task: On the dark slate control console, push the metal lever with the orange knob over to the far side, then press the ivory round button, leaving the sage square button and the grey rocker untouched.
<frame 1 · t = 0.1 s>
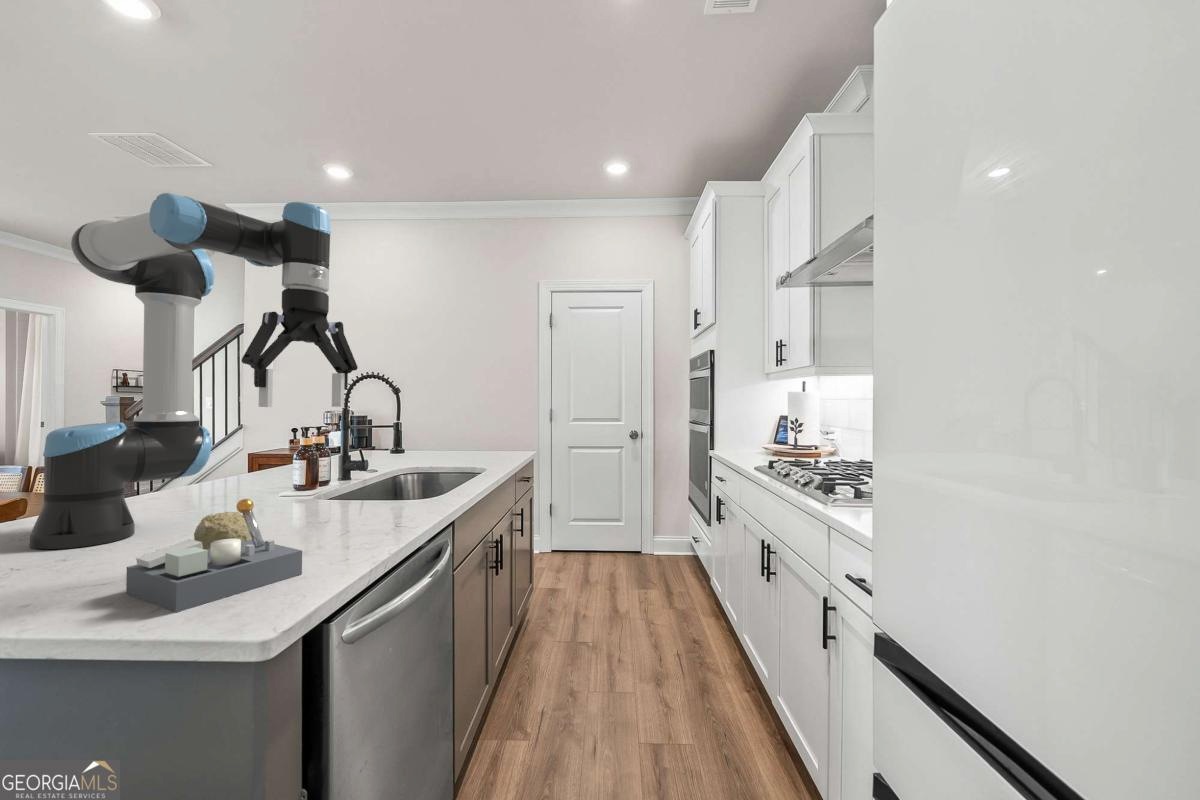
hand: (303, 407, 96), 28 cm above the countertop, fingers open, 13 cm apart
lever: (248, 515, 88), point 10 cm above the countertop, hinge at -35.0°
button square: (186, 561, 76), point 6 cm above the countertop, slide at 0.0 cm
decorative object: (223, 555, 98), on the countertop
panel: (219, 583, 83), on the countertop
rocker: (170, 552, 80), point 6 cm above the countertop, hinge at 10.0°
button round: (225, 551, 80), point 6 cm above the countertop, slide at 0.0 cm
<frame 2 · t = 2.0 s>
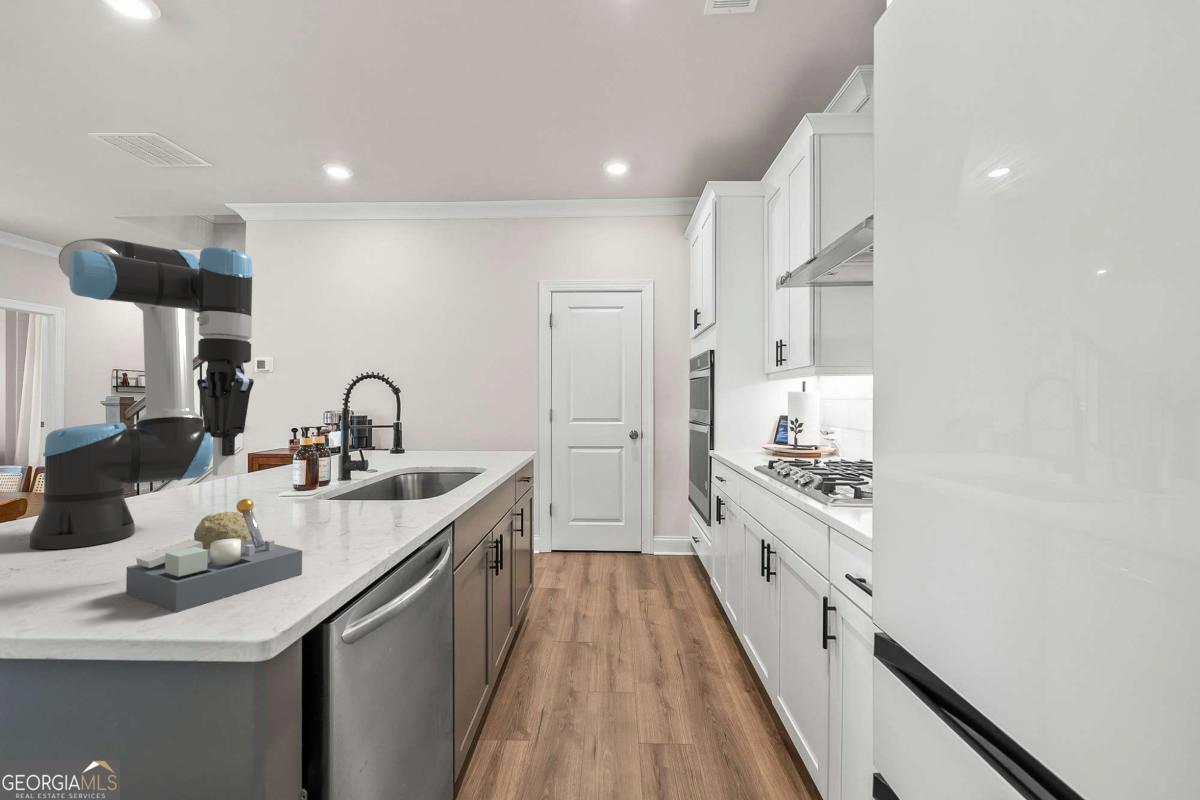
hand: (223, 474, 91), 16 cm above the countertop, fingers closed
nothing on the countertop moved.
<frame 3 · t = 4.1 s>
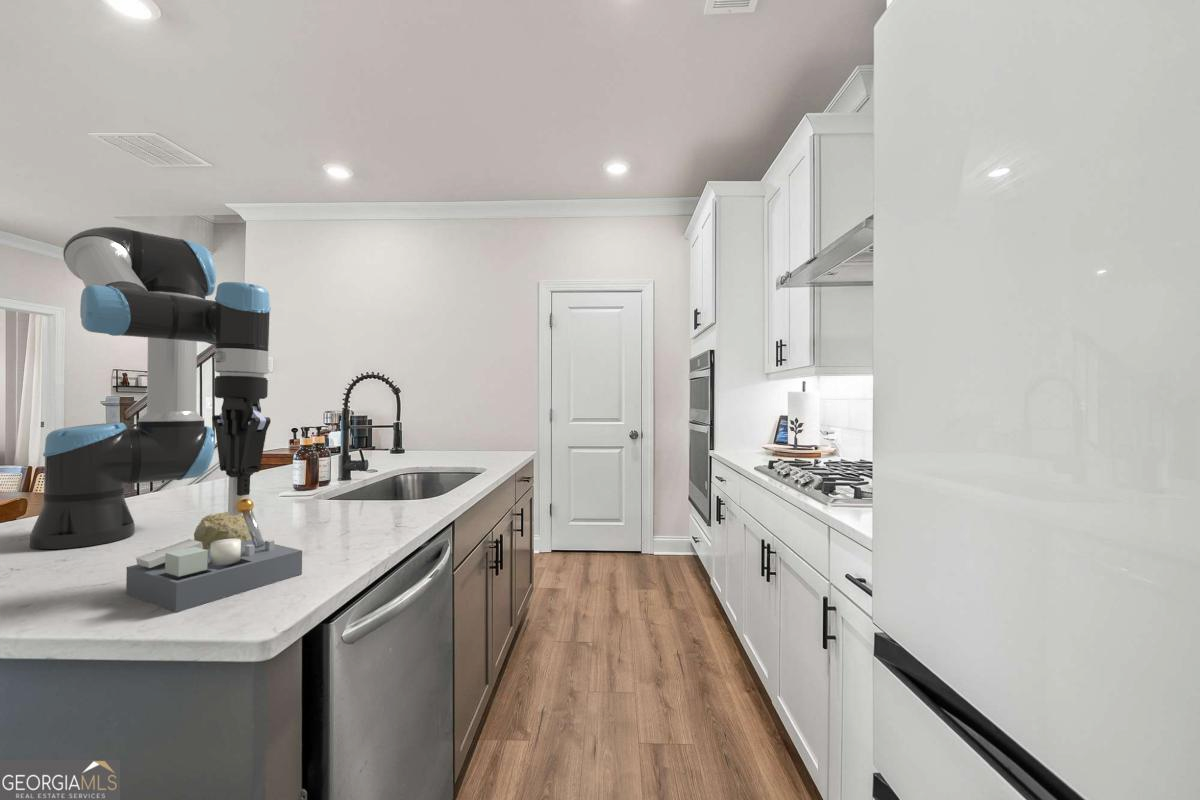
hand: (238, 513, 89), 10 cm above the countertop, fingers closed
lever: (248, 515, 88), point 10 cm above the countertop, hinge at -34.9°, touching gripper
everything else where it was.
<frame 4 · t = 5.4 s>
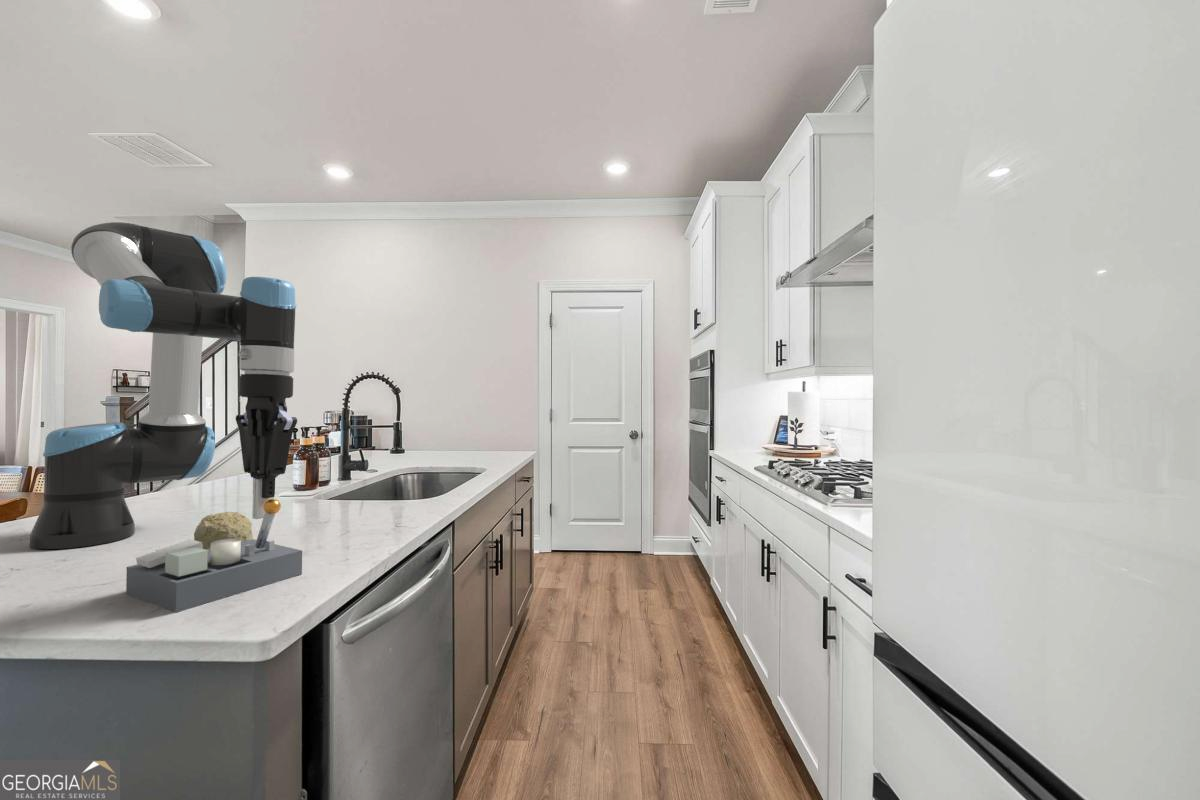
hand: (263, 517, 86), 10 cm above the countertop, fingers closed
lever: (269, 516, 85), point 10 cm above the countertop, hinge at 24.7°, touching gripper
everything else where it was.
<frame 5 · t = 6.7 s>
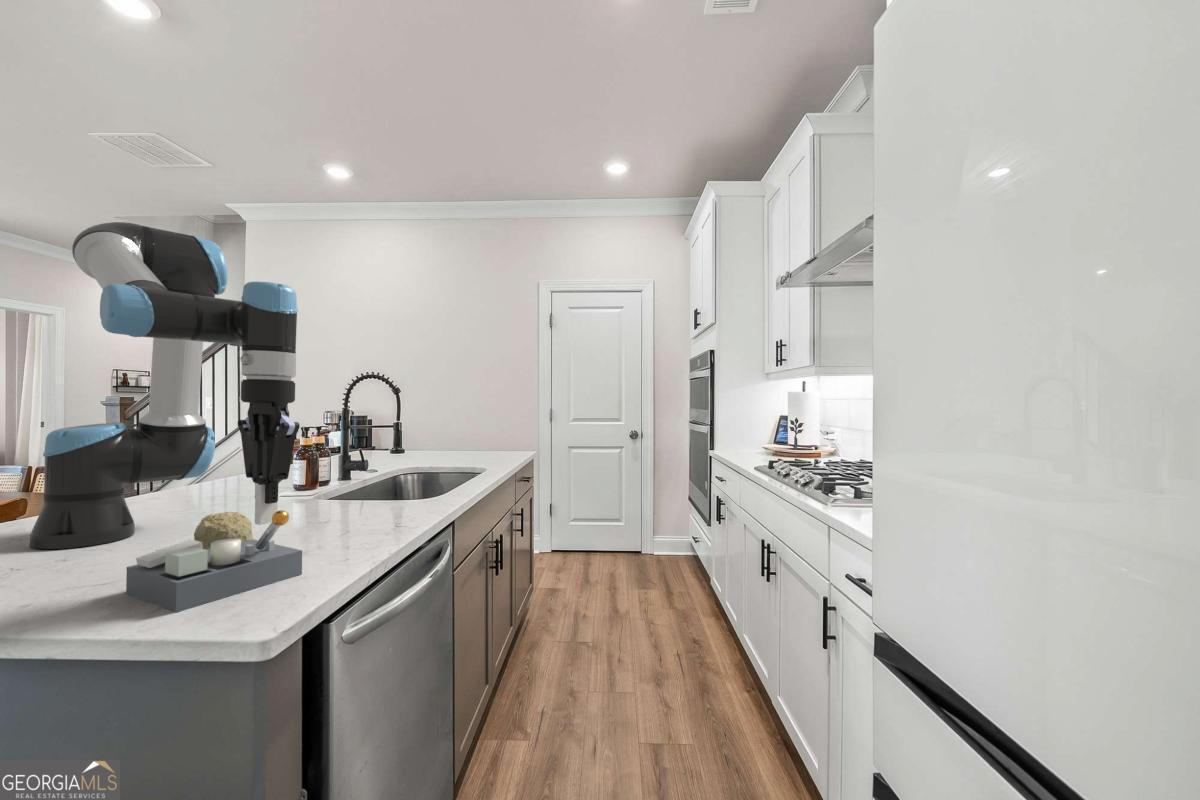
hand: (265, 522, 86), 9 cm above the countertop, fingers closed
lever: (275, 524, 85), point 9 cm above the countertop, hinge at 45.6°
everything else where it was.
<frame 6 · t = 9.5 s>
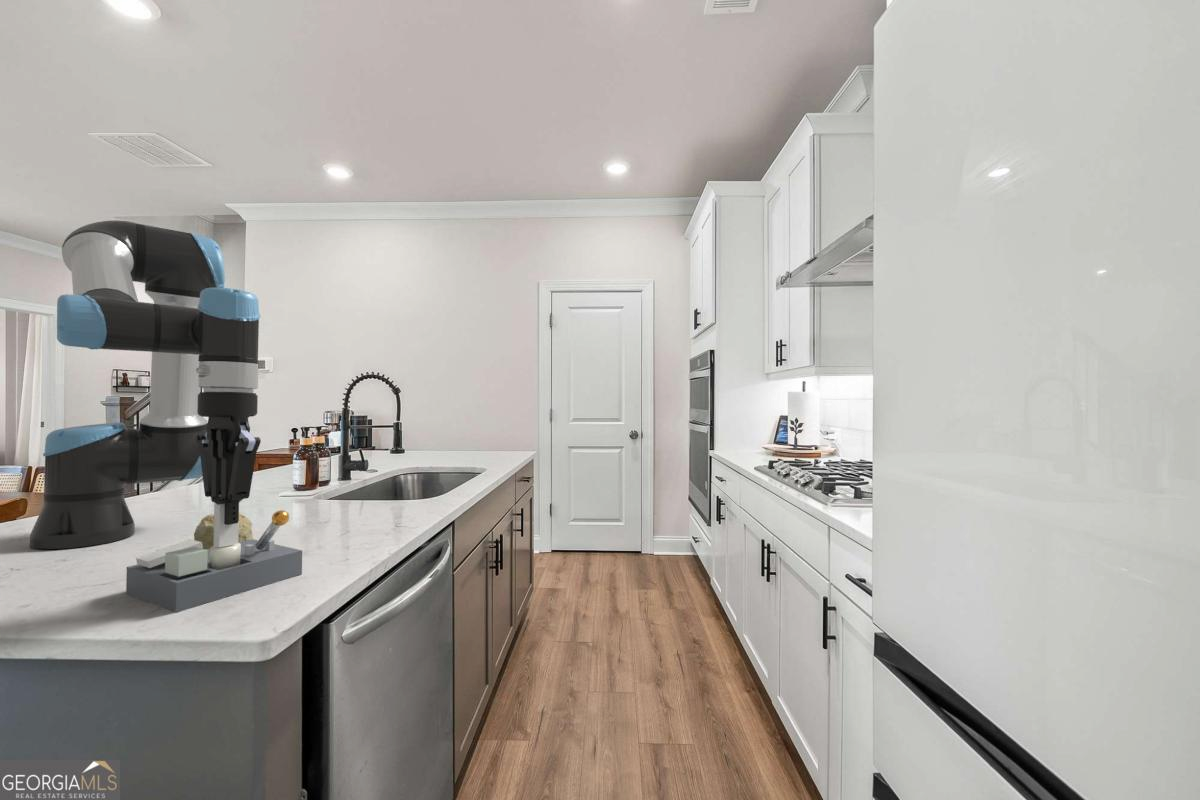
hand: (226, 544, 80), 7 cm above the countertop, fingers closed
button round: (225, 555, 80), point 5 cm above the countertop, slide at 0.7 cm, touching gripper
everything else where it was.
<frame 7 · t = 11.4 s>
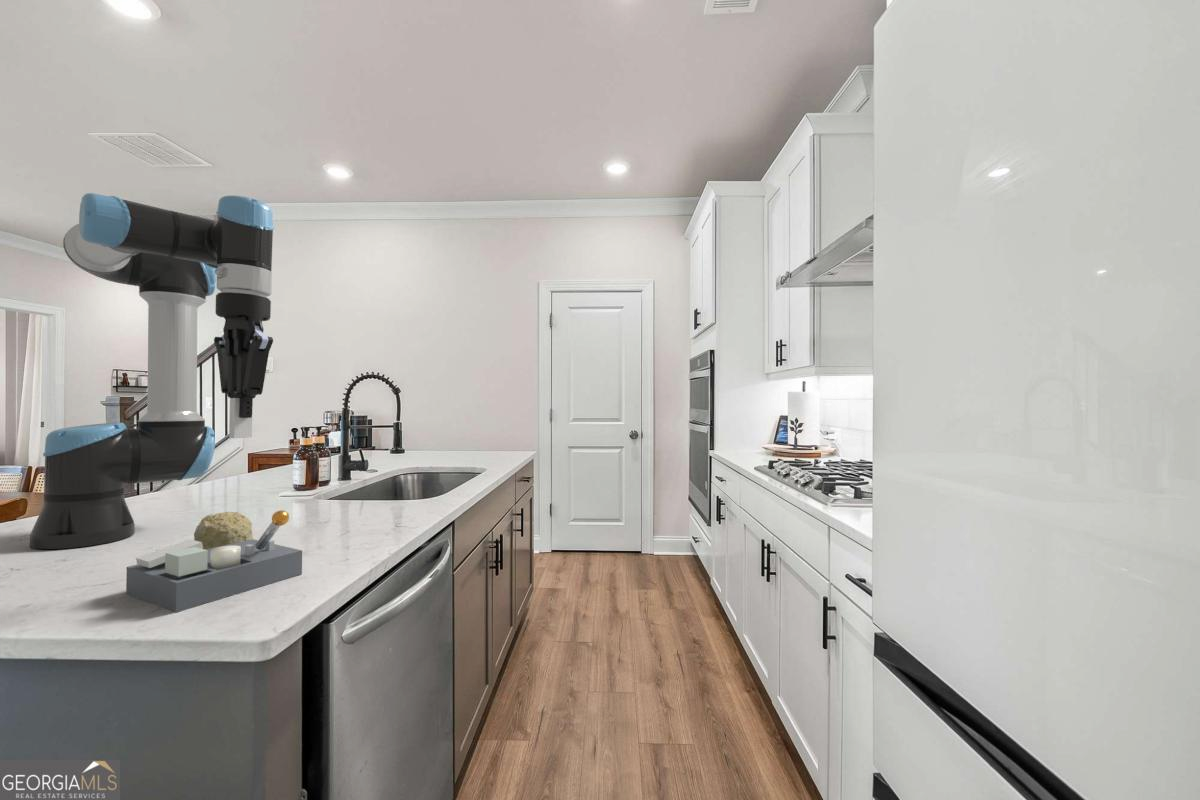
hand: (240, 437, 87), 23 cm above the countertop, fingers closed
button round: (225, 558, 80), point 5 cm above the countertop, slide at 1.1 cm
everything else where it was.
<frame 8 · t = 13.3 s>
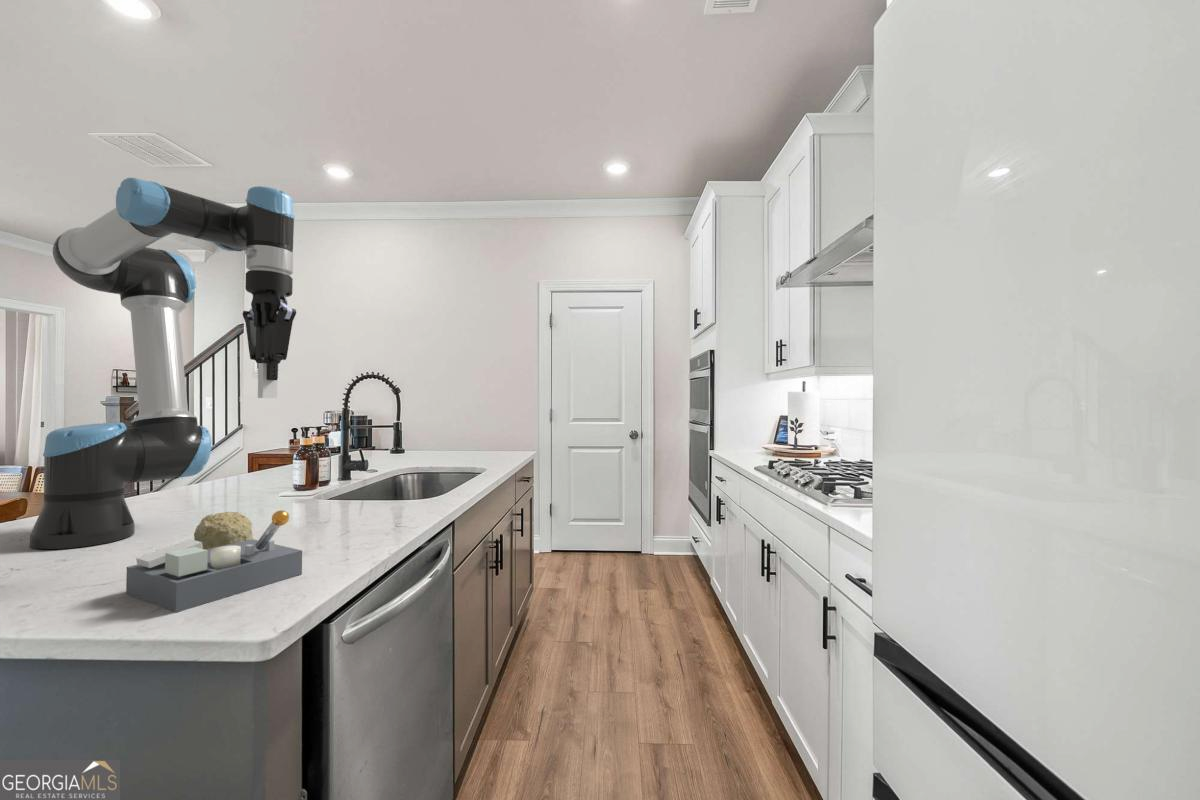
hand: (267, 397, 99), 29 cm above the countertop, fingers closed
nothing on the countertop moved.
at the end: lever at +46° (first picture: -35°); button round slide at 1.1 cm; button square slide at 0.0 cm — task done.
